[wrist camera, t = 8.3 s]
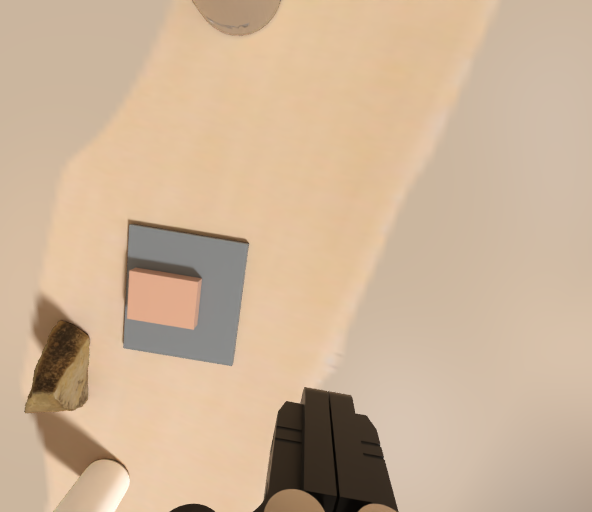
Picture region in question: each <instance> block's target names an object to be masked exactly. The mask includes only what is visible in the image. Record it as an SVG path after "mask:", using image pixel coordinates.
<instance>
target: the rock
mask: <svg viewBox="0 0 592 512" xmlns="http://www.w3.org/2000/svg"><path fill="white" fill-rule="evenodd" d="M89 344H90V340H89V337H88V335H86V334H85V333H84V332H83V331H81V330H80V329H79V328H77V327H76V326H74V325H72V324H70V323H67V322H64V321H62V320H60V321H58V323H57V325H56V326H55V327H54V328H53V329H52V331H51V333H50V335H49V338H48V341H47V345H46V346H45V348H44V350H43V352H42V355H41V357H40V359H39V360H38V363H37V365H36V368H35V370H34V377H33V384H32V389H31V391H30V394H29V396H28V400H27V402H26V405H25V406H26V407H25V413H40V412H59V411H65V410H68V411H73V410H76V408H79V407H82V406H83V404H85V403H86V401H87V400H88V365H89Z"/></svg>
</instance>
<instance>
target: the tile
mask: <svg viewBox="0 0 592 512" xmlns="http://www.w3.org/2000/svg"><path fill="white" fill-rule="evenodd" d="M201 284H202V278H197V277H191V276H185V275H179V274H173V273H167V272H161V271H155V270H149V269H142V268H134V269H132V270H130V271H129V288H128V309H127V319H132V320H138V321H144V322H150V323H156V324H162V325H168V326H174V327H180V328H186V329H192V330H194V328H195V327H196V326H197V324H198V314H199V304H200V294H201Z"/></svg>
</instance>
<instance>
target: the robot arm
mask: <svg viewBox="0 0 592 512" xmlns="http://www.w3.org/2000/svg"><path fill="white" fill-rule="evenodd" d="M280 1H281V0H193V2H194V3H195V5H196V6H197V8H198V10H199V11H200V13H201V14H202V15H203V17H204V18H205V19H206V21H207V22H208V23H210V24H211V25H212V26H213V27H214V28H216V29H217V30H219V31H221V32H223V33H226V34H230V35H239V36H242V35H247V34H251V33H254V32H256V31H258V30H260V29H261V28H262V27H264V26H265V25H266V24H267V23H268V22H269V21H270V20H271V19H272V18H273V16H274V15H275V13H276V11H277V9H278V7H279V4H280ZM383 458H384V456H383V452H382V449H381V447H380V441H379V437H378V434H377V430H376V428H375V427H374V425H373V424H372V423H371V422H370V420H369V418H368V417H367V416H366V415H360V414H355V410H354V404H353V399H352V397H351V395H346V394H340V393H335V392H329V391H328V392H327V391H323V390H318V389H312V388H307V387H304V390H303V394H302V399H301V403H300V404H299V403H294V402H288V401H286V402H285V403H284V405H283V406H282V407H281V409H280V410H279V411H278V415H277V420H276V425H275V430H274V435H273V440H272V445H271V450H270V457H269V464H268V472H267V479H266V486H265V494H264V501H263V502H262V504H261V505H260V506H259V507H258V508H257V509H256V510H255V511H253V512H398V509H397V505H396V501H395V497H394V494H393V490H392V487H391V482H390V479H389V475H388V471H387V468H386V464H385V460H384V459H383ZM170 512H215V511H214V510H212V509H211V508H209V507H207V506H204V505H200V504H186V505H183V506H180V507H177V508H175V509H173V510H172V511H170Z"/></svg>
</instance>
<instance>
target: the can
mask: <svg viewBox="0 0 592 512" xmlns="http://www.w3.org/2000/svg"><path fill="white" fill-rule="evenodd" d="M129 483H130V479H129V474H128V472H127V470H126V469H125V467H124V466H123V465H121V464H120V463H118V462H116V461H114V460H110V459H102V460H97V461H95V462H93V463H91V464H90V465H89V466H88V467H87V468H86V470H85V471H84V472H83V473H82V475H81V476H80V477H79V479H78V480H77V481H76V482H75V484H74V485H73V486H72V488H71V489H70V490H69V492H68V493H67V494H66V495H65V497H64V498H63V499H62V501H61V502H60V503H59V505H58V506H57V507H56V508H55V510H54V511H53V512H115V510H116V508H117V507H118V505H119V503H120V501H121V500H122V498H123V496H124V494H125V493H126V491H127V489H128V487H129Z"/></svg>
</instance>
